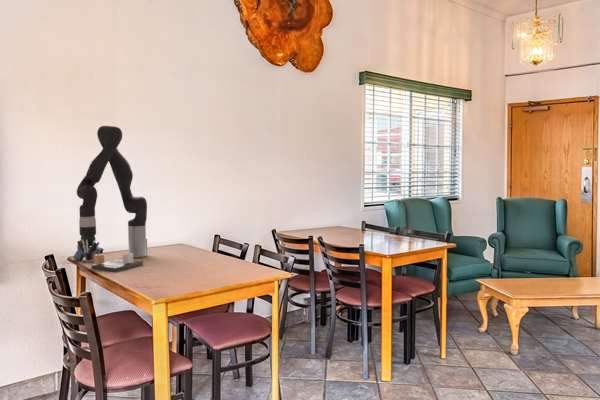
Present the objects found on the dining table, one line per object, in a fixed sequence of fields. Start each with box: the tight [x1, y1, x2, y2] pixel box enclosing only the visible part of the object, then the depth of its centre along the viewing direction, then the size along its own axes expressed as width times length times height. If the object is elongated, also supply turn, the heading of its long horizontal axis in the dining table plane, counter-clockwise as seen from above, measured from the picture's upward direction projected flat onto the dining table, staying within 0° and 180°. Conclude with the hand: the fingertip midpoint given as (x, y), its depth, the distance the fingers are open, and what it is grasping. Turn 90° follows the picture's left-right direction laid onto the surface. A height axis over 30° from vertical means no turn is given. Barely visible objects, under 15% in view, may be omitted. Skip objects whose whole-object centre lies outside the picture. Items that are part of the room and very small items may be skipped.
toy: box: [72, 244, 104, 261], centre depth 256 cm, size 3×16×10 cm, turn 77°
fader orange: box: [93, 253, 105, 264], centre depth 236 cm, size 4×3×5 cm
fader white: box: [122, 252, 134, 263], centre depth 239 cm, size 4×3×5 cm
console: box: [90, 258, 144, 273], centre depth 240 cm, size 18×16×2 cm
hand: (88, 260), depth 239 cm, fingers closed
